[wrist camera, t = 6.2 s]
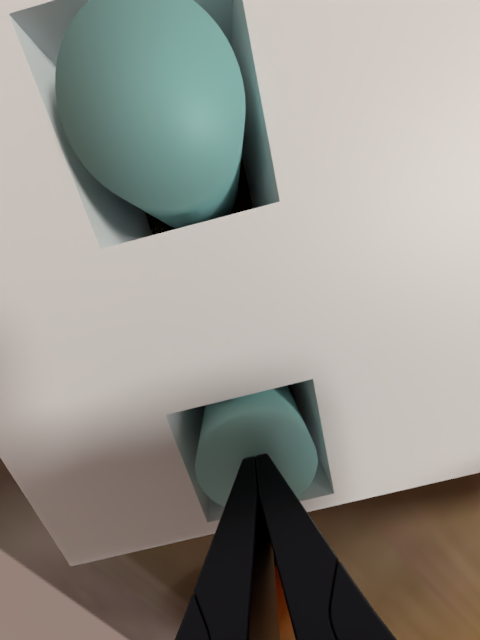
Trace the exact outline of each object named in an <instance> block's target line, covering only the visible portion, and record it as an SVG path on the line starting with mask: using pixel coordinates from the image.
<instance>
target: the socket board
mask: <svg viewBox="0 0 480 640" xmlns="http://www.w3.org/2000/svg"><path fill="white" fill-rule="evenodd" d="M88 1H89V0H0V458H1V459H2V461H3V463H4V464H5V466H6V467H7V469H8V470H9V472H10V473H11V475H12V477H13V478H14V480H15V481H16V483H17V484H18V486H19V487H20V489H21V490H22V492H23V494H24V495H25V497H26V498H27V500H28V501H29V503H30V504H31V506H32V508H33V509H34V511H35V512H36V514H37V515H38V517H39V518H40V520H41V521H42V523H43V525H44V526H45V528H46V529H47V531H48V532H49V534H50V535H51V537H52V538H53V540H54V542H55V543H56V545H57V546H58V548H59V549H60V551H61V552H62V554H63V556H64V557H65V559H66V560H67V562H68V563H69V565H70V566H75V565H80V564H84V563H88V562H93V561H97V560H101V559H106V558H110V557H114V556H119V555H123V554H127V553H132V552H136V551H141V550H145V549H149V548H154V547H158V546H162V545H167V544H171V543H175V542H180V541H184V540H188V539H193V538H197V537H201V536H206V535H210V534H215V532H216V529H217V526H218V524H219V521H220V518H221V516H222V513H223V510H224V508H225V507H223V506H221V505H219V504H217V503H216V502H214V501H213V500H212V499H210V498H209V497H208V496H207V495H206V494H205V492H204V491H203V490H202V488H201V487H200V485H199V482H198V480H197V477H196V472H195V460H196V455H197V449H198V443H199V438H200V432H201V427H202V421H203V415H204V410H205V405H208V404H213V403H217V402H221V401H225V400H229V399H233V398H237V397H241V396H245V395H249V394H254V393H258V392H262V391H266V390H270V389H274V388H278V387H282V386H286V385H291V386H292V391H293V395H294V400H295V403H296V405H297V407H298V410H299V412H300V414H301V416H302V418H303V421H304V423H305V425H306V427H307V429H308V432H309V434H310V436H311V438H312V440H313V443H314V445H315V447H316V451H317V457H318V464H317V470H316V474H315V476H314V479H313V481H312V482H311V484H310V486H309V487H308V488H307V490H306V491H305V492H304V493H303V494H302V495H301V496H300V497H298V499H299V501H300V502H301V504H302V505H303V507H304V508H305V510H306V511H307V512H310V511H315V510H319V509H323V508H328V507H332V506H336V505H341V504H345V503H350V502H354V501H358V500H363V499H367V498H371V497H376V496H380V495H384V494H389V493H393V492H397V491H402V490H406V489H411V488H415V487H419V486H424V485H428V484H432V483H437V482H441V481H445V480H450V479H454V478H458V477H463V476H467V475H471V474H476V473H480V0H193V1H195V2H196V3H197V4H198V5H200V6H201V7H202V8H203V9H204V10H205V11H206V12H207V13H208V14H209V15H210V16H211V17H212V18H213V20H214V21H215V22H216V23H217V24H218V26H219V27H220V29H221V30H222V32H223V33H224V35H225V36H226V38H227V40H228V41H229V43H230V45H231V47H232V49H233V51H234V54H235V56H236V59H237V62H238V64H239V67H240V71H241V75H242V79H243V84H244V91H245V105H246V113H245V126H244V136H243V146H242V158H243V163H244V167H245V172H246V177H247V181H248V186H249V191H250V195H251V200H252V205H253V209H249V210H246V211H242V212H238V213H234V214H231V215H227V216H223V217H219V218H215V219H212V220H208V221H204V222H200V223H196V224H193V225H189V226H185V227H181V228H177V229H174V230H170V231H166V232H162V233H159V234H155V235H152V232H151V229H150V225H149V222H148V219H147V216H146V213H145V211H143V210H142V209H140V208H138V207H136V206H135V205H133V204H131V203H129V202H128V201H126V200H124V199H123V198H121V197H119V196H117V195H116V194H114V193H113V192H111V191H110V190H108V189H107V188H105V187H104V186H103V185H102V184H101V183H100V182H98V181H97V180H96V179H95V178H94V177H93V176H92V175H91V174H90V172H89V171H88V170H87V169H86V168H85V167H84V165H83V164H82V162H81V161H80V160H79V158H78V157H77V155H76V153H75V152H74V150H73V148H72V147H71V145H70V143H69V140H68V138H67V136H66V134H65V131H64V128H63V125H62V122H61V119H60V115H59V111H58V106H57V100H56V90H55V72H56V64H57V57H58V53H59V49H60V46H61V42H62V40H63V37H64V35H65V32H66V30H67V28H68V26H69V25H70V23H71V21H72V20H73V18H74V16H75V15H76V14H77V13H78V12H79V10H80V9H81V8H82V7H83V6H84V5H85V4H86V3H87V2H88Z"/></svg>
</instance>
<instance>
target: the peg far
mask: <svg viewBox="0 0 480 640" xmlns="http://www.w3.org/2000/svg"><path fill="white" fill-rule="evenodd" d="M265 453H267V454H268V455H269V456H270V458H271V459H272V461H273V462H274V464H275V465H276V467H277V468H278V470H279V471H280V473H281V474H282V476H283V477H284V479H285V480H286V482H287V483H288V485H289V486H290V488H291V489H292V491H293V492H294V494H295V495H296V497H297V498H298V497H300V496H301V495H302V494H303V493H304V492H305V491H306V490H307V488H308V487H309V486H310V484H311V482H312V481H313V479H314V476H315V474H316V470H317V464H318V457H317V451H316V447H315V445H314V443H313V440H312V438H311V436H310V434H309V432H308V429H307V427H306V425H305V423H304V421H303V418H302V416H301V414H300V412H299V410H298V407H297V405H296V403H295V401H294V399H293V396H292V394H291V392H290V390H289V388H288V386H287V385H286V386H282V387H278V388H274V389H270V390H266V391H262V392H258V393H254V394H249V395H245V396H241V397H237V398H233V399H229V400H225V401H221V402H217V403H213V404H208V405H205V410H204V415H203V421H202V427H201V432H200V438H199V443H198V449H197V455H196V460H195V472H196V477H197V480H198V482H199V485H200V487H201V488H202V490H203V491H204V492H205V494H206V495H207V496H208V497H209V498H210V499H212V500H213V501H214V502H216V503H217V504H219V505H221V506H223V507H225V505H226V502H227V500H228V497H229V494H230V491H231V489H232V486H233V483H234V481H235V478H236V475H237V473H238V470H239V467H240V465H241V462H242V460H243V459H244V458H248V457H252V456H254V457H255V458H256V456H257V455H260V454H265Z"/></svg>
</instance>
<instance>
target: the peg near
mask: <svg viewBox="0 0 480 640" xmlns="http://www.w3.org/2000/svg"><path fill="white" fill-rule="evenodd" d="M55 90H56V100H57V106H58V111H59V115H60V119H61V122H62V125H63V128H64V131H65V134H66V136H67V138H68V140H69V143H70V145H71V147H72V148H73V150H74V152H75V153H76V155H77V157H78V158H79V160H80V161H81V162H82V164H83V165H84V167H85V168H86V169H87V170H88V171H89V172H90V174H91V175H92V176H93V177H94V178H95V179H96V180H97V181H98V182H100V183H101V184H102V185H103V186H104V187H105V188H107V189H108V190H110V191H111V192H113V193H114V194H116V195H117V196H119V197H121V198H123V199H124V200H126V201H128V202H129V203H131V204H133V205H135V206H136V207H138V208H140V209H142V210H143V211H145V212H147V213H148V214H150V215H152V216H154V217H155V218H157V219H159V220H161V221H162V222H164V223H166V224H167V225H169V226H171V227H173V228H175V229H177V228H181V227H185V226H189V225H193V224H196V223H200V222H204V221H208V220H212V219H215V218H219V217H223V216H227V215H229V214H230V212H231V211H232V209H233V207H234V204H235V201H236V198H237V193H238V185H239V176H240V166H241V156H242V146H243V136H244V126H245V113H246V105H245V91H244V84H243V79H242V75H241V71H240V67H239V64H238V62H237V59H236V56H235V54H234V51H233V49H232V47H231V45H230V43H229V41H228V40H227V38H226V36H225V35H224V33H223V32H222V30H221V29H220V27H219V26H218V24H217V23H216V22H215V21H214V20H213V18H212V17H211V16H210V15H209V14H208V13H207V12H206V11H205V10H204V9H203V8H202V7H201V6H200V5H198V4H197V3H196V2H195V1H193V0H89V1H88V2H87V3H86V4H85V5H84V6H83V7H82V8H81V9H80V10H79V12H78V13H77V14H76V15H75V16H74V18H73V20H72V21H71V23H70V25H69V26H68V28H67V30H66V32H65V35H64V37H63V40H62V42H61V46H60V49H59V53H58V57H57V64H56V72H55Z"/></svg>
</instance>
